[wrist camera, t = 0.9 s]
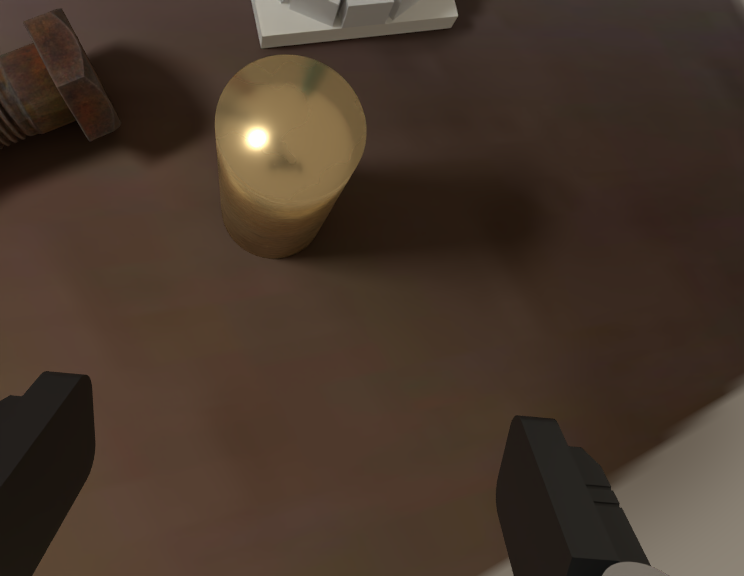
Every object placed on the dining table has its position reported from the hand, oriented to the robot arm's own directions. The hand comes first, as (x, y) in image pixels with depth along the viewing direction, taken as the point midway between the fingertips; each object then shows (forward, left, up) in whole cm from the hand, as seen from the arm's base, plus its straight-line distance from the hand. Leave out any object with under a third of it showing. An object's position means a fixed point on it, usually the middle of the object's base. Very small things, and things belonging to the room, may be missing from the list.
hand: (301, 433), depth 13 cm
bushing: (+2, +9, -19) cm, 21 cm away
